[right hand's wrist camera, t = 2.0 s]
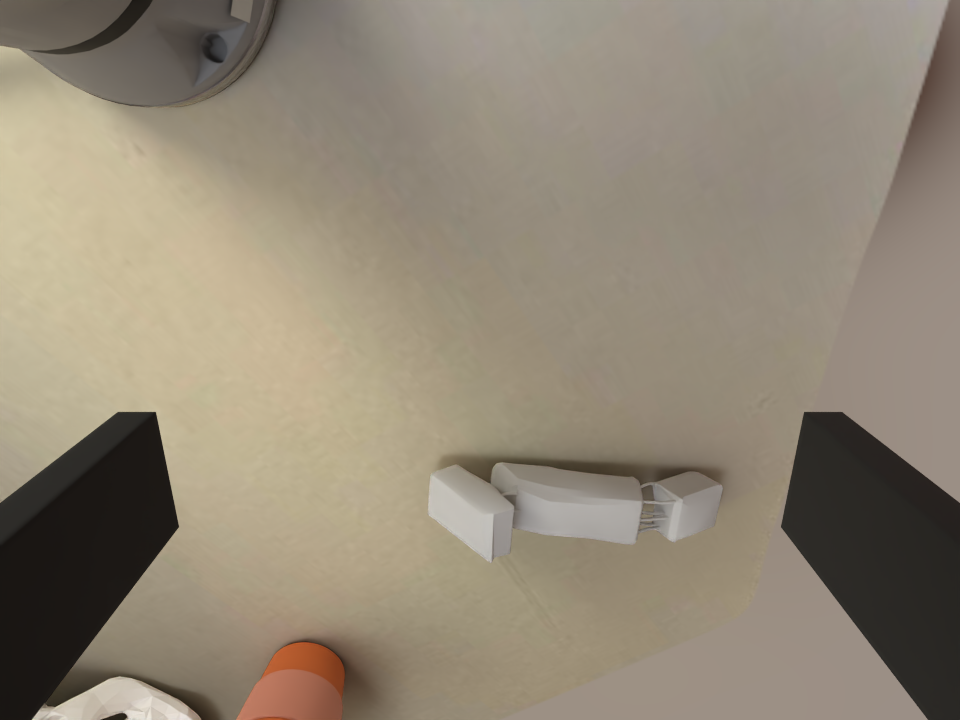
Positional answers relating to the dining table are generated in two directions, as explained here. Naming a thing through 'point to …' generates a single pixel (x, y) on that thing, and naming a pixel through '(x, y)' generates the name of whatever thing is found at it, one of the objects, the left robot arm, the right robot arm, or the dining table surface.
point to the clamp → (566, 505)
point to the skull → (119, 703)
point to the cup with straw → (298, 686)
